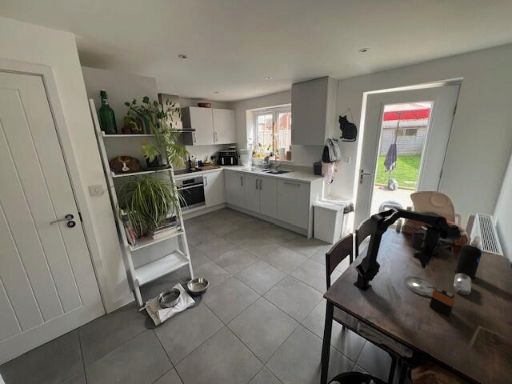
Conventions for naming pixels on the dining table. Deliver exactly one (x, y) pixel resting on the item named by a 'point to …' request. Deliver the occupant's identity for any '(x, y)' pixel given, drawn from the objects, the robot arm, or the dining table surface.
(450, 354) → the dining table surface
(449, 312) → the battery
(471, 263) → the aerosol can
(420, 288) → the flange plate
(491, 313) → the dining table surface
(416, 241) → the pen holder
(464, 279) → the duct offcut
